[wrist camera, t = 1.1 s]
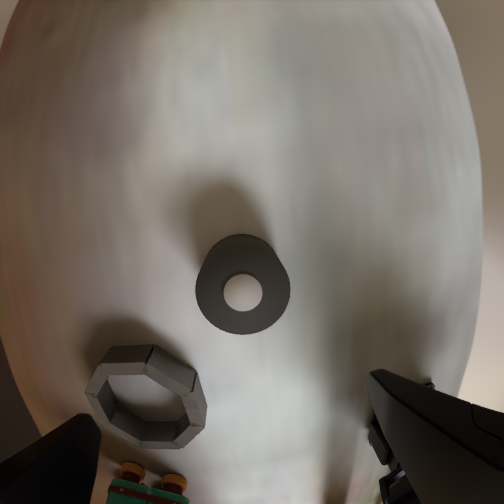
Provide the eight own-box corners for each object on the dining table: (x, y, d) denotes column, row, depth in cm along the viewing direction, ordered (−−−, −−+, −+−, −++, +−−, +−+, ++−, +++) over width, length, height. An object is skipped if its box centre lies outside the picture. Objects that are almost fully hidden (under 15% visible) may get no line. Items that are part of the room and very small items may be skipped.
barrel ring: (189, 341, 20) (183, 359, 18) (214, 428, 22) (212, 448, 20) (84, 348, 20) (71, 363, 18) (121, 428, 22) (114, 445, 19)
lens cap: (274, 228, 19) (285, 238, 15) (283, 301, 20) (295, 328, 16) (197, 240, 19) (186, 253, 15) (211, 312, 20) (205, 341, 16)
